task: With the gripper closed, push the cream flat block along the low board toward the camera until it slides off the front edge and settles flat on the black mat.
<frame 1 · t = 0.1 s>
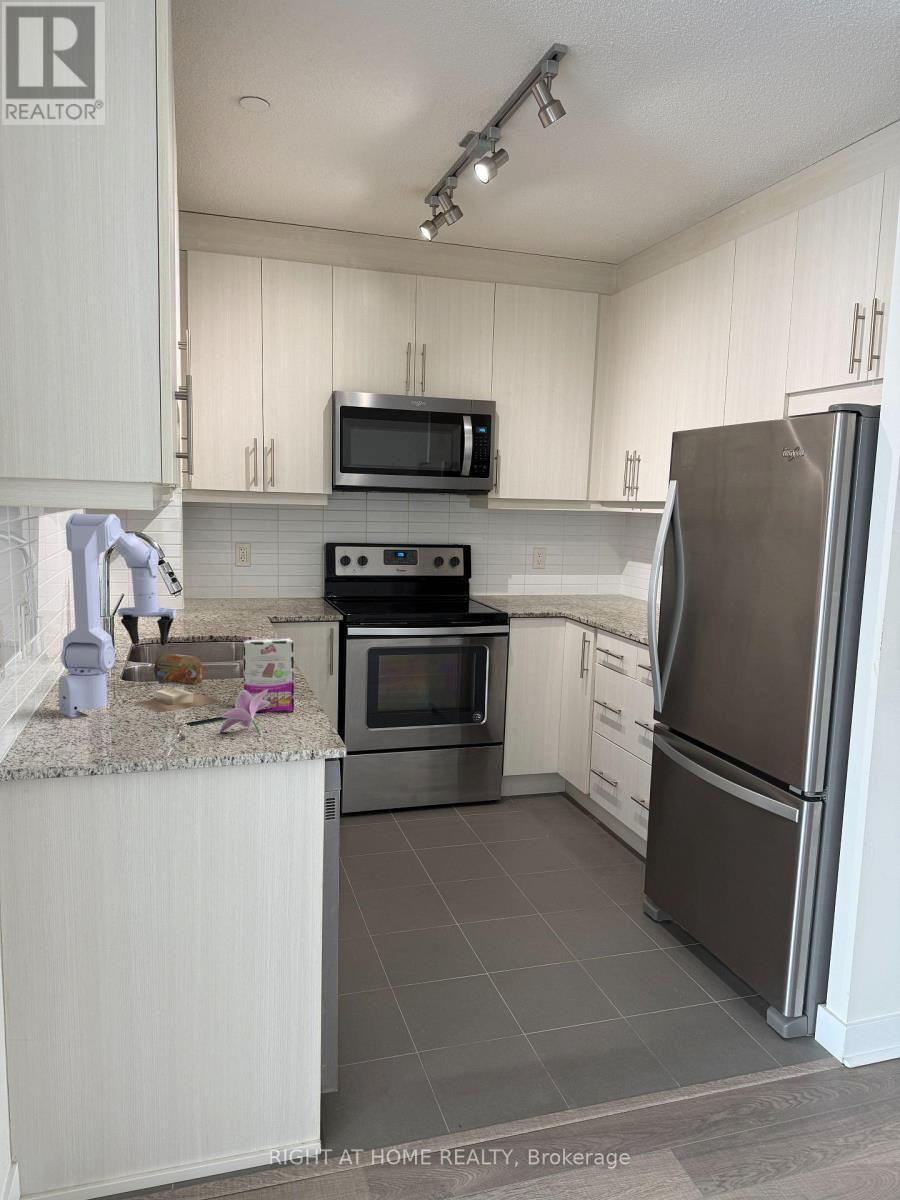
hand: (150, 643, 215), 10 cm above the worktop, tool pointing down, fingers open, 7 cm apart
candy bar box: (268, 711, 190), on the worktop
cream flat block: (174, 700, 191), point 1 cm above the worktop, touching board
orange green food package: (179, 687, 214), on the worktop
board: (178, 708, 190), on the worktop
lily: (246, 733, 171), on the worktop
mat: (205, 717, 182), on the worktop
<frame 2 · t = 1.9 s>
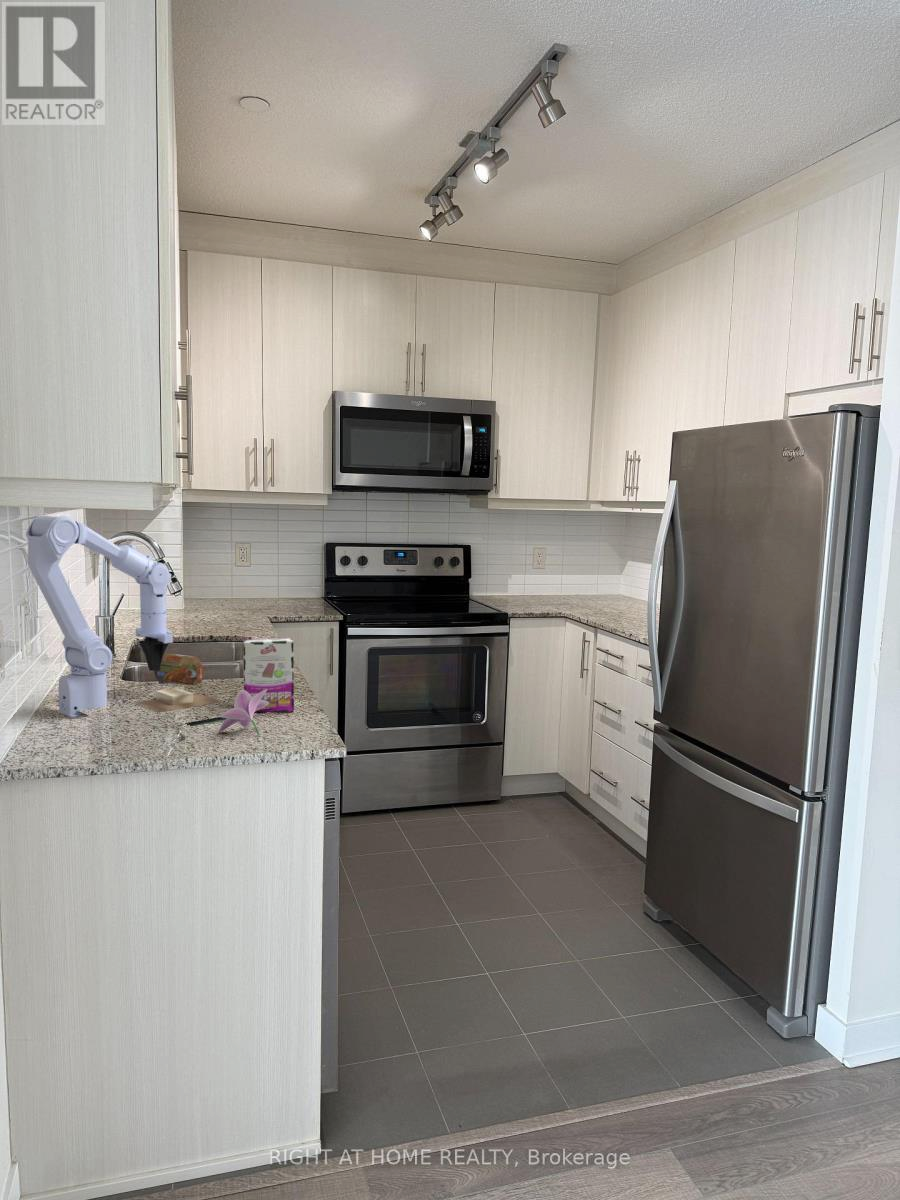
hand: (154, 669, 197), 7 cm above the worktop, tool pointing down, fingers closed
nothing on the worktop moved.
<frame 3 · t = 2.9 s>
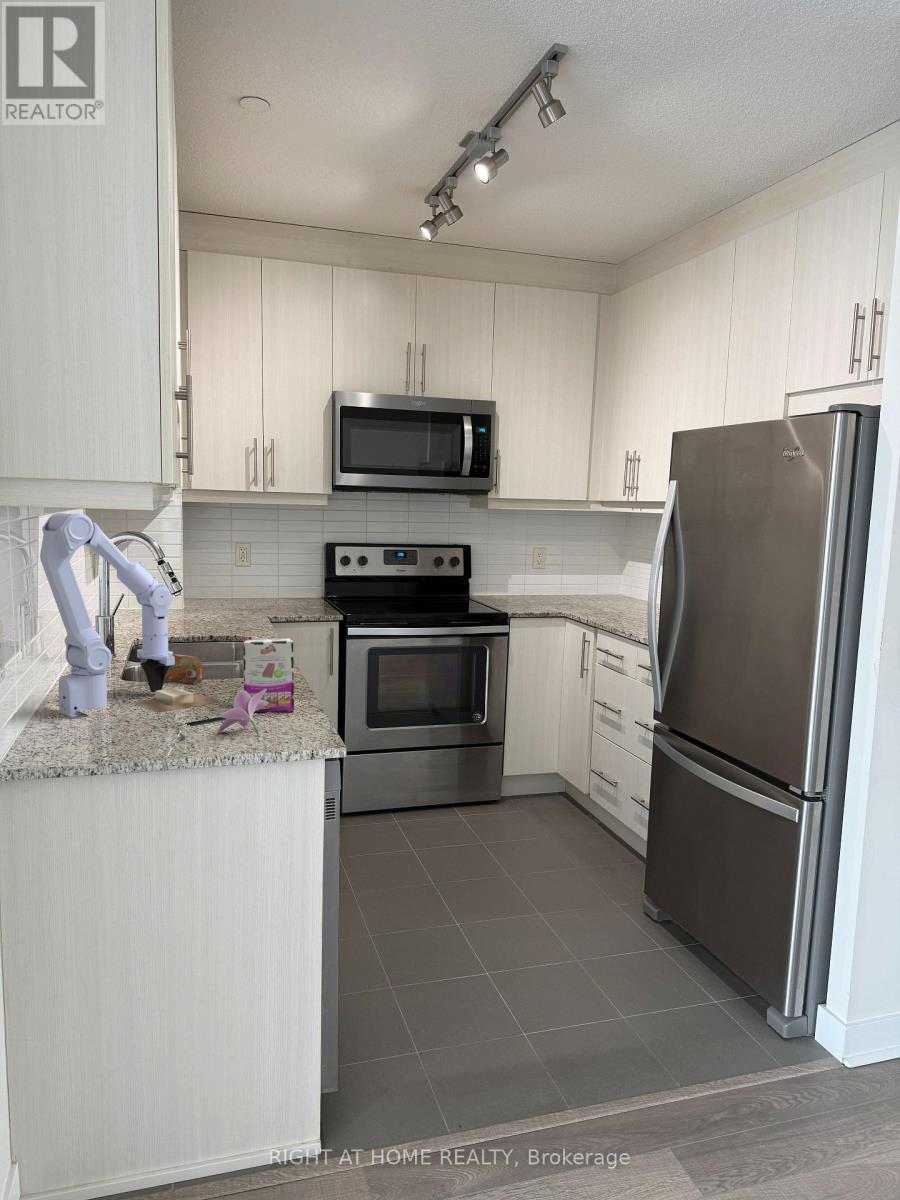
hand: (156, 691, 197), 2 cm above the worktop, tool pointing down, fingers closed
nothing on the worktop moved.
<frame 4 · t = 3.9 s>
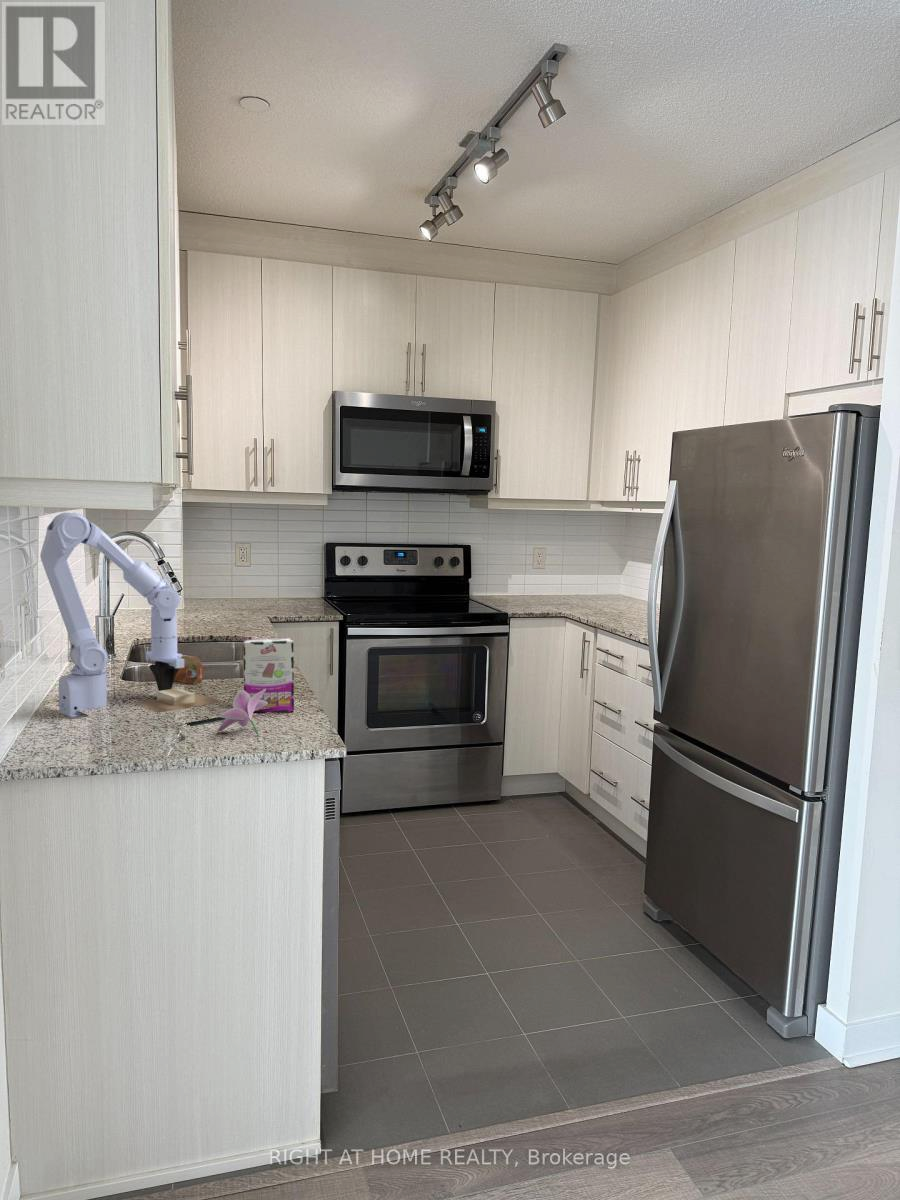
hand: (165, 694, 194), 2 cm above the worktop, tool pointing down, fingers closed
cream flat block: (175, 701, 191), point 2 cm above the worktop, touching board, gripper
everything else where it was.
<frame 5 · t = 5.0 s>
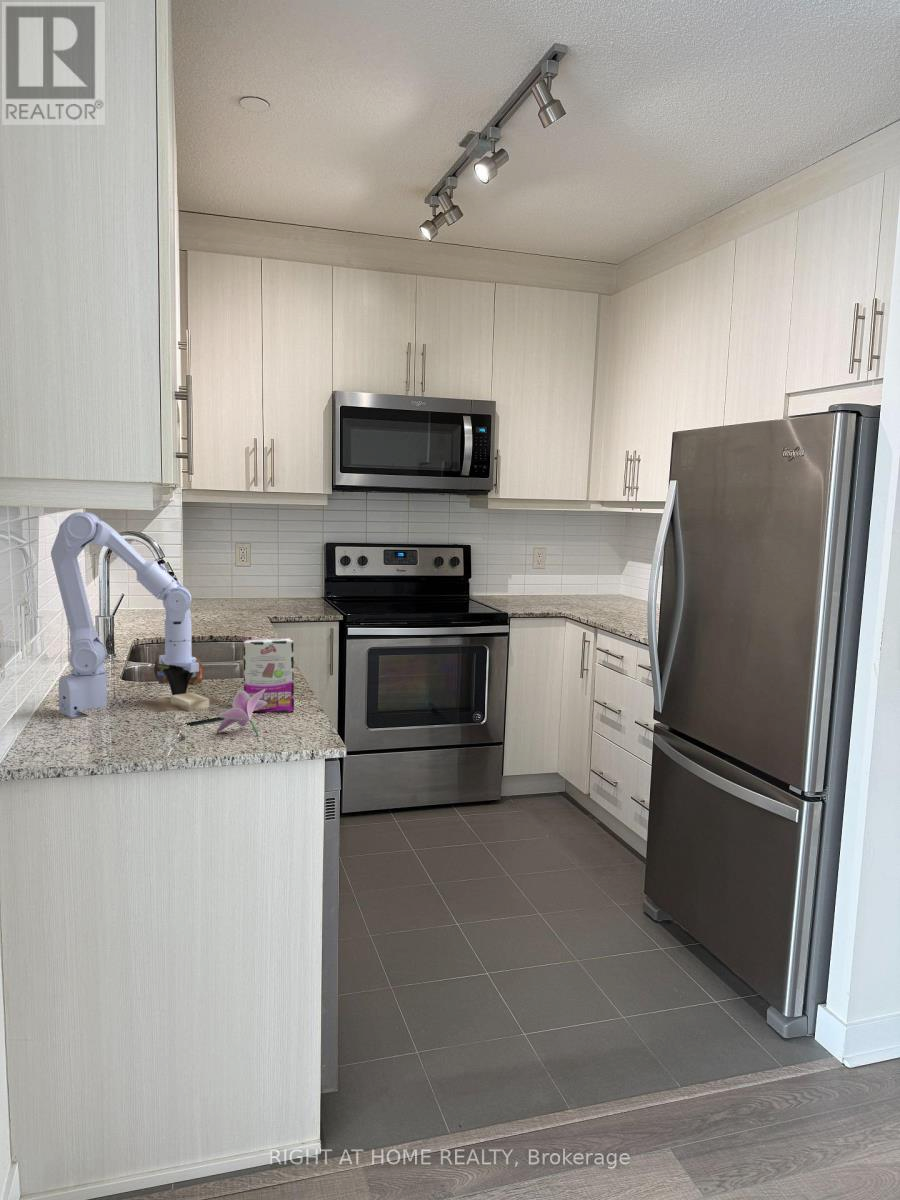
hand: (179, 699, 190), 2 cm above the worktop, tool pointing down, fingers closed
cream flat block: (189, 706, 186), point 2 cm above the worktop, touching board
everything else where it was.
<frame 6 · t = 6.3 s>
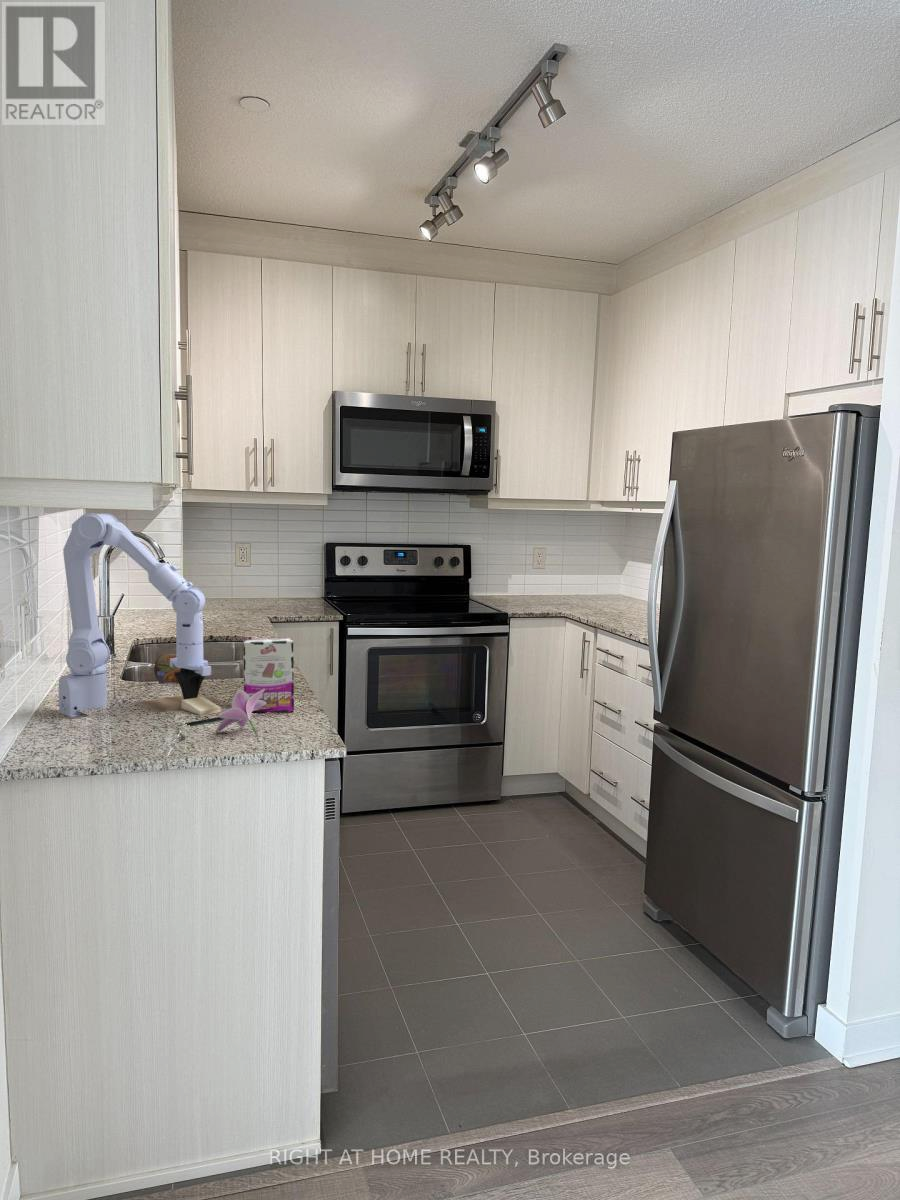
hand: (190, 703, 186), 2 cm above the worktop, tool pointing down, fingers closed
cream flat block: (200, 712, 183), point 1 cm above the worktop, tilted 8°, touching board, gripper, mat
everything else where it was.
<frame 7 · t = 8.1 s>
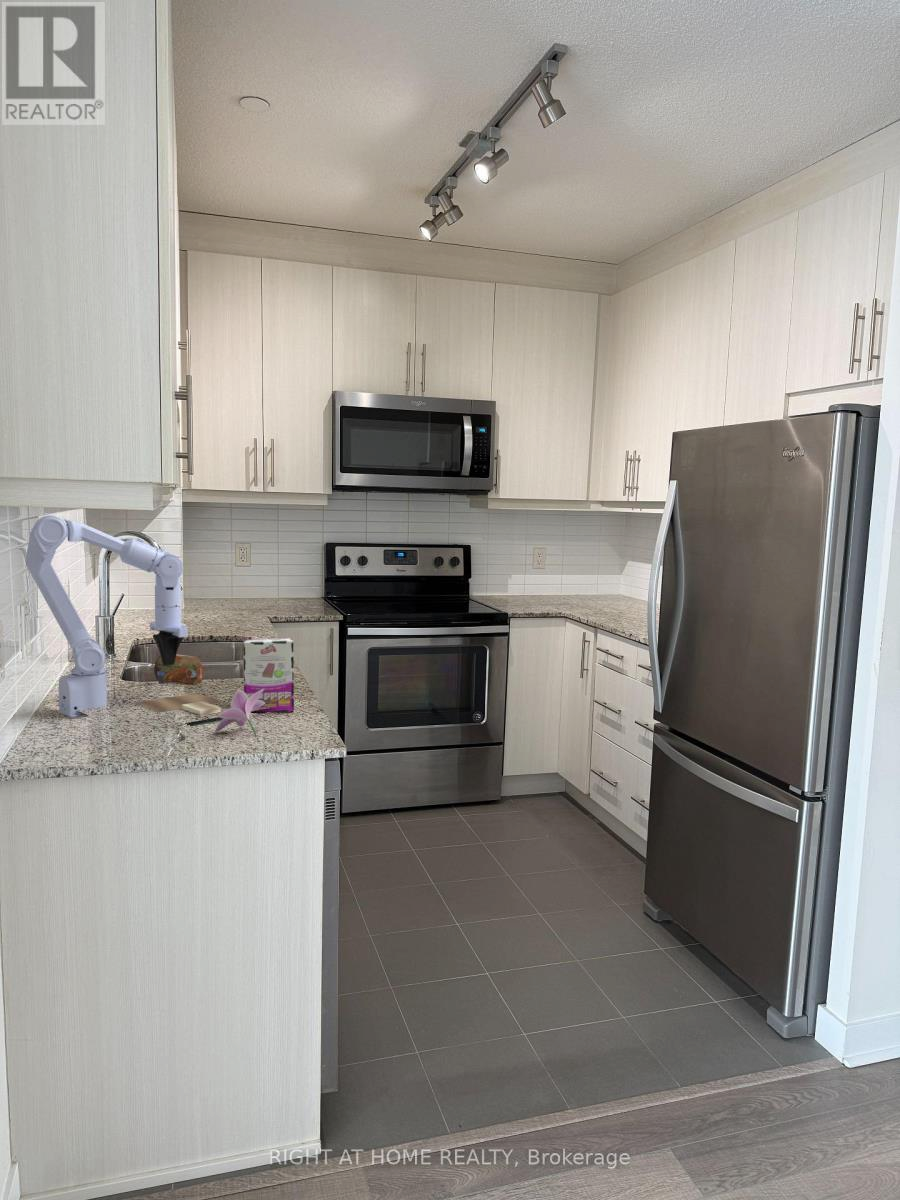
hand: (168, 664, 192), 10 cm above the worktop, tool pointing down, fingers closed
cream flat block: (201, 715, 183), on the worktop, touching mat
everything else where it was.
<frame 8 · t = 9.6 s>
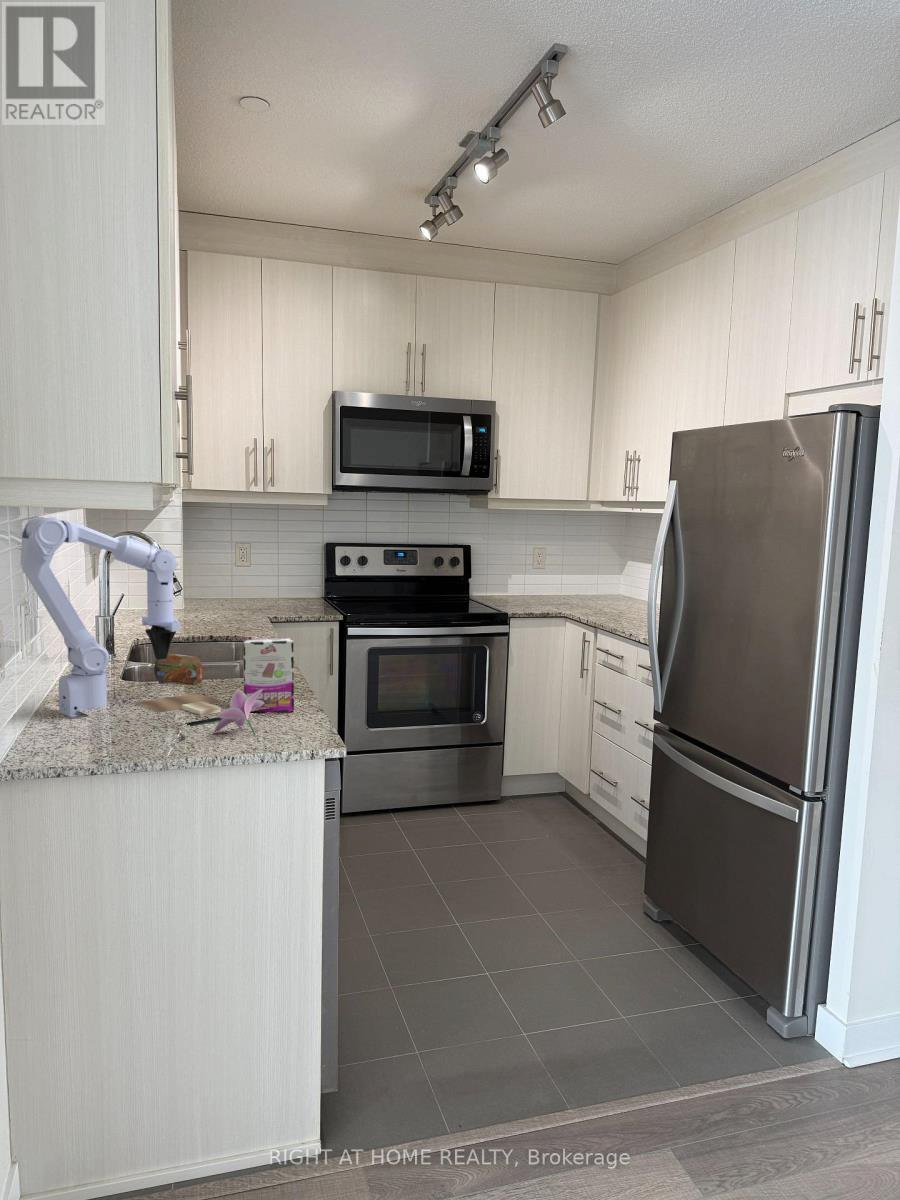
hand: (161, 658, 194), 10 cm above the worktop, tool pointing down, fingers closed
at the end: cream flat block inside the target area (1.6 cm from its centre), on the worktop; cream flat block tilted 0° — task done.
